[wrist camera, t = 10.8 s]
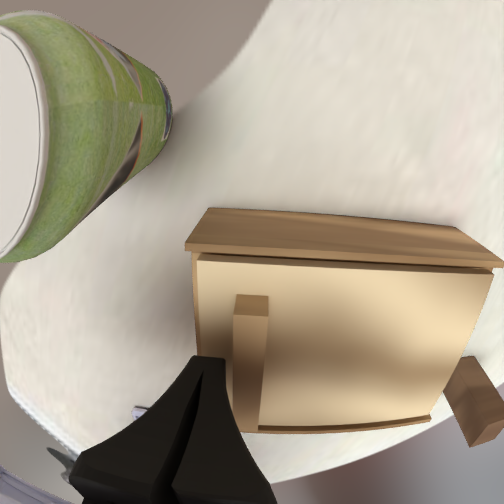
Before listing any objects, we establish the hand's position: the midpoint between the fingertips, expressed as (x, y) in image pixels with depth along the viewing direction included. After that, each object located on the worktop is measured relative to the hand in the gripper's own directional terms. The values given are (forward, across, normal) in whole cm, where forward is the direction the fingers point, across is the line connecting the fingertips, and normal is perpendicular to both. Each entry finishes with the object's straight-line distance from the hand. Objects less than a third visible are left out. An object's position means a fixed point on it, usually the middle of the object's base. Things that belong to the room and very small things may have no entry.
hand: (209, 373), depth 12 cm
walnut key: (+6, -18, +6) cm, 20 cm away
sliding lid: (+1, -6, 0) cm, 6 cm away
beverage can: (+6, +5, -10) cm, 13 cm away
